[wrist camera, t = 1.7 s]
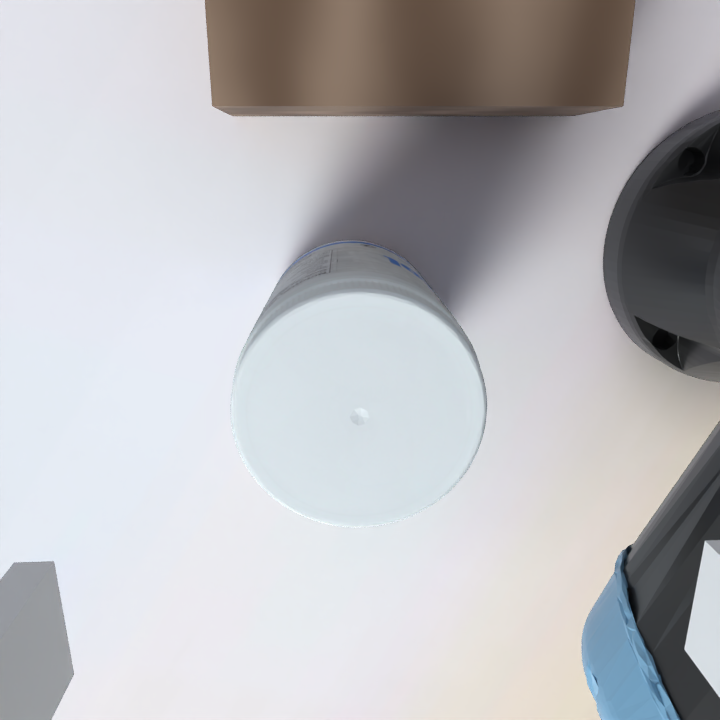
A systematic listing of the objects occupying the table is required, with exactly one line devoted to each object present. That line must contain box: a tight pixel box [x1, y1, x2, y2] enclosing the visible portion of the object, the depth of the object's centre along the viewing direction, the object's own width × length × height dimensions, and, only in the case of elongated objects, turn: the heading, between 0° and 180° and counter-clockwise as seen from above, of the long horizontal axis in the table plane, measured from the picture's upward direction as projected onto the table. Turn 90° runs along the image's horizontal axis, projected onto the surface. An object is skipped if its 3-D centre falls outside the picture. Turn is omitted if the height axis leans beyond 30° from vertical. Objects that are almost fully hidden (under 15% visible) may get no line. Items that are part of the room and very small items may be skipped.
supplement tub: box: [230, 240, 487, 527], centre depth 29 cm, size 10×10×15 cm
